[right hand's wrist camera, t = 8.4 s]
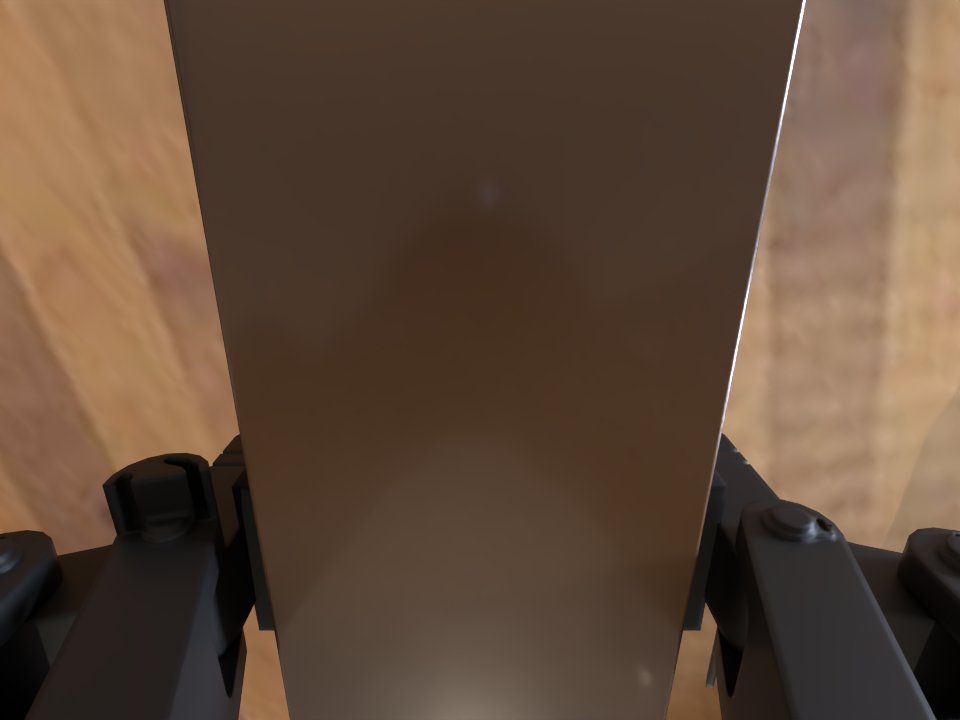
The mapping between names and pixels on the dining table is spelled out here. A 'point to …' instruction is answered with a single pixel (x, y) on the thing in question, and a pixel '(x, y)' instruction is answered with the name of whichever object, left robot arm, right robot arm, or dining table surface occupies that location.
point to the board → (481, 328)
